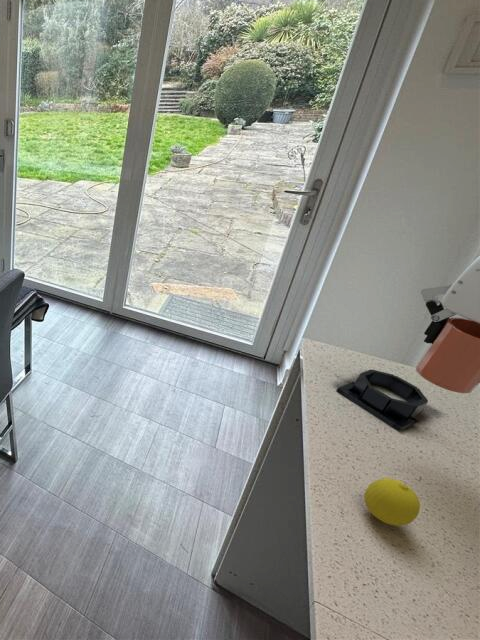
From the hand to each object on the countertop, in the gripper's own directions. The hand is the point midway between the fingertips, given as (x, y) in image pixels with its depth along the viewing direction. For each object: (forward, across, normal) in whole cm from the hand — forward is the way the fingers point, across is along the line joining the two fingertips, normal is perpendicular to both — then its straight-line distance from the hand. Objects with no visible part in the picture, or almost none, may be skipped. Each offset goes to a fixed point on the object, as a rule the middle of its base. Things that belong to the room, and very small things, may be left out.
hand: (460, 354), depth 66 cm
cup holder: (+21, +7, -10) cm, 25 cm away
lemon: (+22, -7, +19) cm, 30 cm away
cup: (+5, 0, 0) cm, 5 cm away
